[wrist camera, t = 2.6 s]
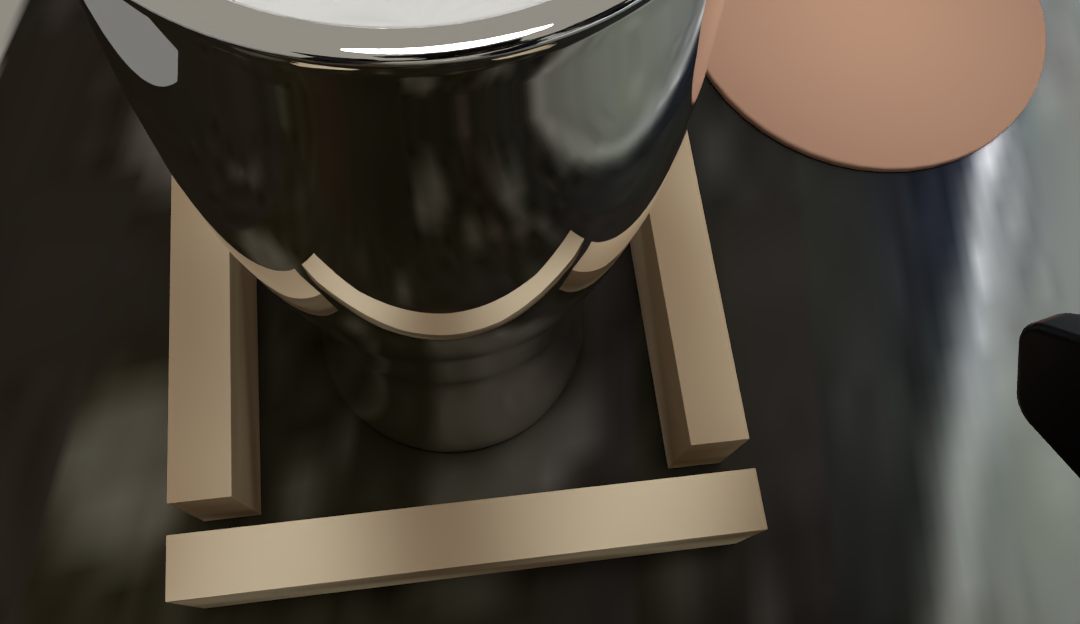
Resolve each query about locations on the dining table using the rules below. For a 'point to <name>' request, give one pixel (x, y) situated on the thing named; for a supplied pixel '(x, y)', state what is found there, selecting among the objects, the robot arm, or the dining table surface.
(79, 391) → the dining table surface
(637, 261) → the pocket frame
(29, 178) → the dining table surface
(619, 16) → the beer glass
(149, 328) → the dining table surface
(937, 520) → the dining table surface
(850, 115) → the mat
